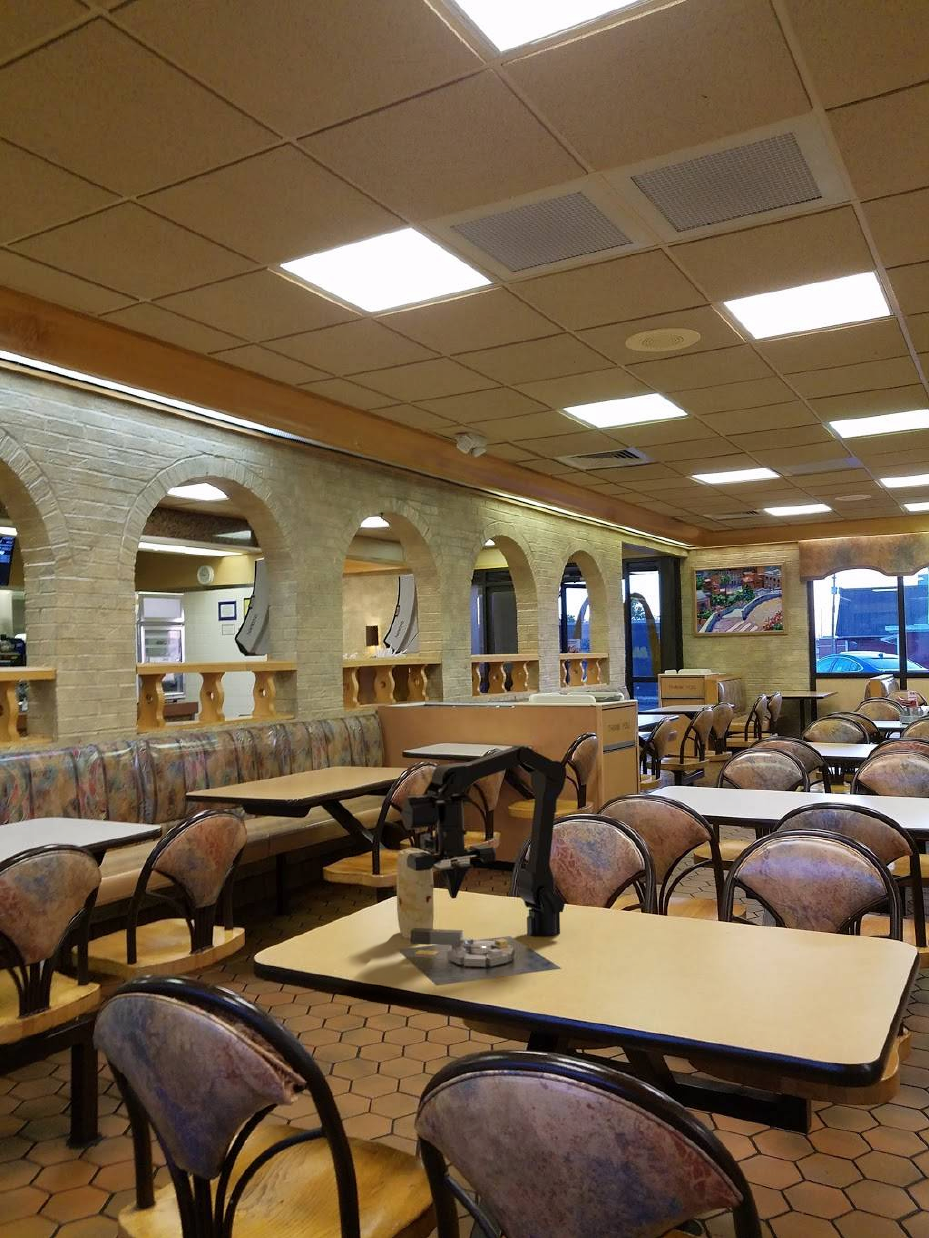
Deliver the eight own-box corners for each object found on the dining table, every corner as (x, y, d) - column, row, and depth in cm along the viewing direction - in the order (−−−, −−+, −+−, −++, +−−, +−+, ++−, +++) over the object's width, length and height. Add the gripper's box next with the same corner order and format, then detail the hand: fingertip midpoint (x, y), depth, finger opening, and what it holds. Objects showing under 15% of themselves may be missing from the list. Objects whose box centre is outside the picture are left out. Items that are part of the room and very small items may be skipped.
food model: (441, 938, 219) (439, 848, 220) (422, 945, 214) (421, 853, 215) (407, 932, 225) (406, 844, 226) (388, 939, 219) (387, 849, 220)
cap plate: (510, 940, 216) (509, 924, 217) (561, 973, 192) (561, 955, 192) (397, 954, 207) (397, 938, 208) (436, 990, 183) (436, 972, 183)
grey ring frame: (517, 948, 205) (517, 924, 206) (507, 967, 192) (506, 941, 193) (420, 944, 210) (420, 921, 210) (404, 962, 197) (403, 937, 197)
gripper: (474, 815, 220) (476, 885, 220) (396, 823, 213) (399, 896, 212) (495, 821, 210) (498, 894, 210) (415, 831, 203) (418, 907, 202)
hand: (453, 897), depth 209 cm, fingers closed
